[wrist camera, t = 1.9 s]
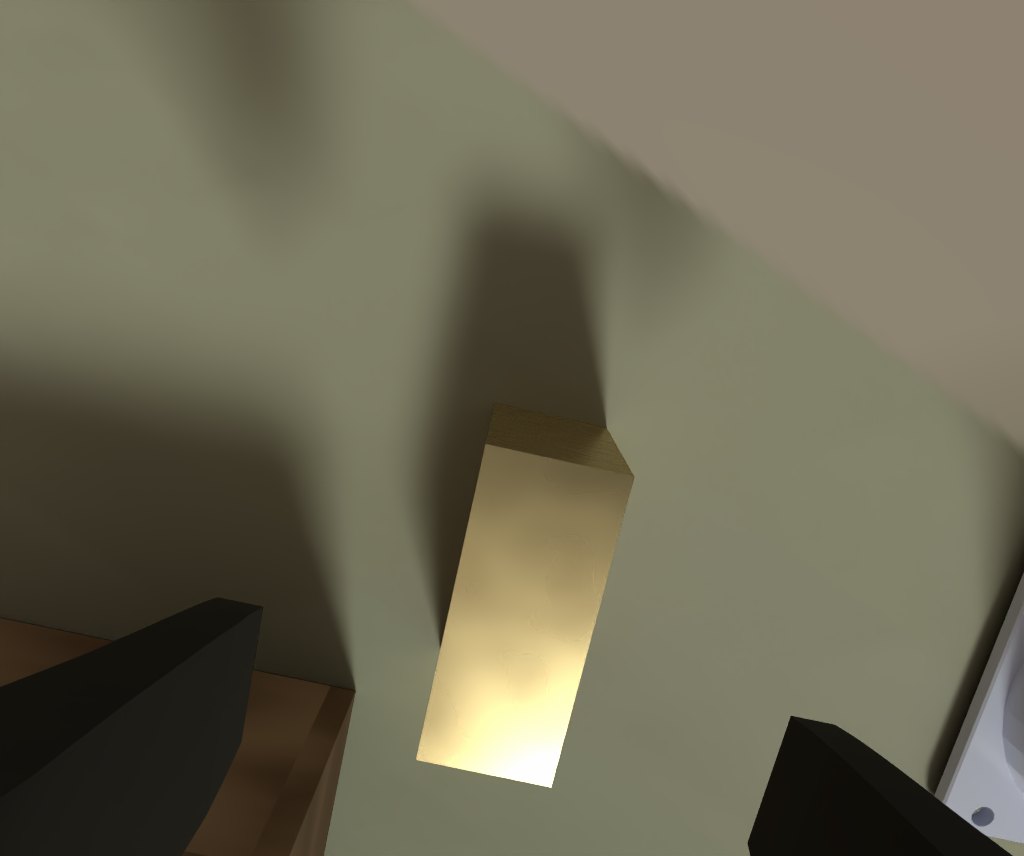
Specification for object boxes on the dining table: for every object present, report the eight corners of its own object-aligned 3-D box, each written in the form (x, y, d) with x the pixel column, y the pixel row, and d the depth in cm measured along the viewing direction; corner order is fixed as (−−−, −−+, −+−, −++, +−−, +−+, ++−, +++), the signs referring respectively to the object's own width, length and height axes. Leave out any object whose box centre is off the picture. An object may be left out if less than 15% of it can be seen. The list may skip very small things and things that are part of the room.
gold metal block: (605, 426, 16) (634, 476, 12) (544, 668, 17) (551, 787, 13) (494, 401, 15) (485, 443, 12) (441, 646, 17) (415, 759, 13)
